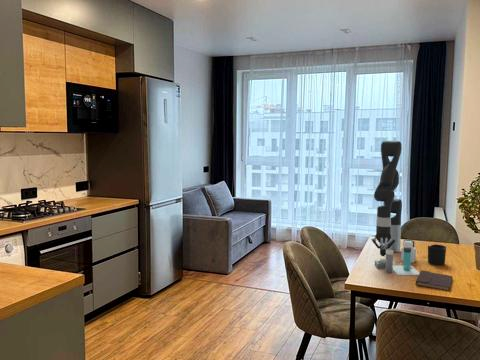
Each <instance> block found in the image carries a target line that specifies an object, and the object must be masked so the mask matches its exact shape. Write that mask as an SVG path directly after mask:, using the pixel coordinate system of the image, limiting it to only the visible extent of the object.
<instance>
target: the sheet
mask: <svg viewBox="0 0 480 360" xmlns="http://www.w3.org/2000/svg"><path fill="white" fill-rule="evenodd" d="M393 272H394V273H395V274H396V275H397V276H404V277H405V276H406V277H407V276H411V277H412V276H414V277H418V276H419V274H420V271H418V270H417V269H416V268H415V267H414V266H412V265H411V267H410V271H405V270H403V265H393Z"/></svg>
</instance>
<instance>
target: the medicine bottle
mask: <svg viewBox="0 0 480 360" xmlns="http://www.w3.org/2000/svg"><path fill="white" fill-rule="evenodd" d="M402 244H403V245H402V248H400V262H403V259H404V247H410V248H411V264H413V263H415V262H416V260H417V259H416V258H417V248H416V247H415V241H414V240H412V239H404V240H403V243H402Z"/></svg>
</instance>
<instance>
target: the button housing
mask: <svg viewBox="0 0 480 360" xmlns="http://www.w3.org/2000/svg"><path fill="white" fill-rule="evenodd" d="M374 266H375V268H376V269H381V270H382V269H384V270H385V269H386V261H385V263H380V260H374Z"/></svg>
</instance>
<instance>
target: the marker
mask: <svg viewBox="0 0 480 360" xmlns="http://www.w3.org/2000/svg"><path fill="white" fill-rule="evenodd" d="M402 262H403V264H402V266H403V270H405V271H410V267H411V266H412V265H411V264H412V263H411V248H410V247H404V259H403V261H402Z"/></svg>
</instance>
